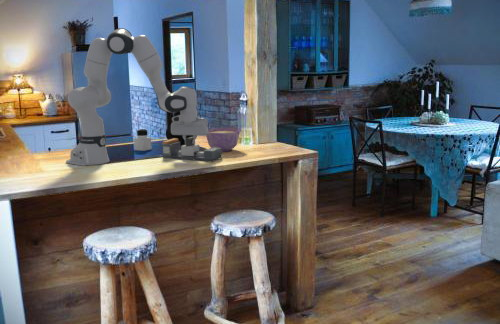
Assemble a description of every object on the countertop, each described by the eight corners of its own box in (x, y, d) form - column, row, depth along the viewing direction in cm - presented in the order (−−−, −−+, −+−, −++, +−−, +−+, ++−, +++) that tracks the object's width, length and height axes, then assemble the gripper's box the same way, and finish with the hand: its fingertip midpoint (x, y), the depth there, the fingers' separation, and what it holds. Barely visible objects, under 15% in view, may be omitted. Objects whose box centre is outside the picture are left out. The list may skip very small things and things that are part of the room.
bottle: (182, 148, 290) (180, 97, 284) (161, 146, 299) (158, 96, 293) (199, 144, 303) (197, 95, 297) (178, 142, 312) (176, 95, 306)
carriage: (181, 155, 261) (180, 138, 260) (188, 152, 268) (187, 136, 266) (193, 156, 259) (192, 139, 257) (199, 153, 265) (198, 137, 263)
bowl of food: (247, 150, 281) (246, 130, 278) (216, 155, 270) (216, 134, 267) (228, 146, 297) (228, 127, 294) (199, 150, 286) (198, 130, 284)
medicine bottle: (151, 149, 291) (150, 129, 288) (143, 151, 285) (142, 130, 282) (143, 148, 294) (141, 128, 292) (134, 150, 289) (133, 129, 286)
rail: (162, 157, 264) (161, 144, 263) (173, 154, 274) (172, 141, 272) (212, 161, 253) (211, 147, 251) (221, 157, 262) (220, 144, 260)
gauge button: (162, 143, 262) (162, 141, 262) (173, 140, 272) (173, 138, 272) (167, 144, 261) (167, 141, 261) (178, 140, 271) (178, 138, 271)
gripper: (209, 117, 259) (210, 143, 262) (173, 116, 265) (174, 142, 267) (205, 118, 253) (206, 145, 256) (168, 118, 259) (170, 143, 261)
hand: (190, 143), depth 262 cm, fingers closed on carriage, 2 cm apart
